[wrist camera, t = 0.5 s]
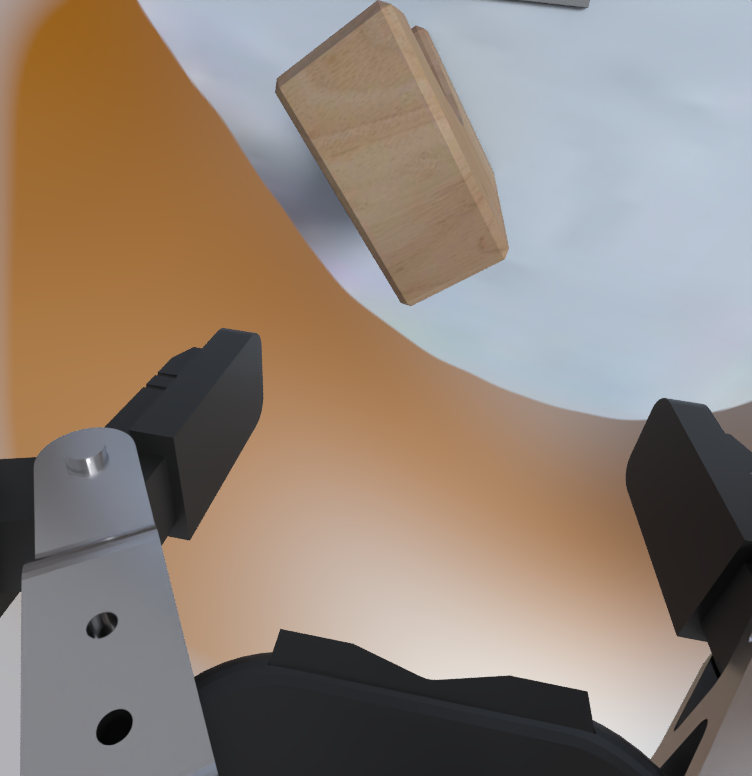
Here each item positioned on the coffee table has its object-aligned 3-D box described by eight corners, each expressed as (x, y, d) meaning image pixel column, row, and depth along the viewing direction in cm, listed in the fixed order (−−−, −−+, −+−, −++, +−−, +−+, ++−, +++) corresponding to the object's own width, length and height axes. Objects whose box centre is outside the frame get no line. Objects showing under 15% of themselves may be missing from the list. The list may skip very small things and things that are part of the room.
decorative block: (357, 74, 38) (265, 81, 21) (428, 24, 36) (390, -12, 19) (428, 214, 42) (399, 313, 25) (495, 177, 40) (513, 260, 23)
